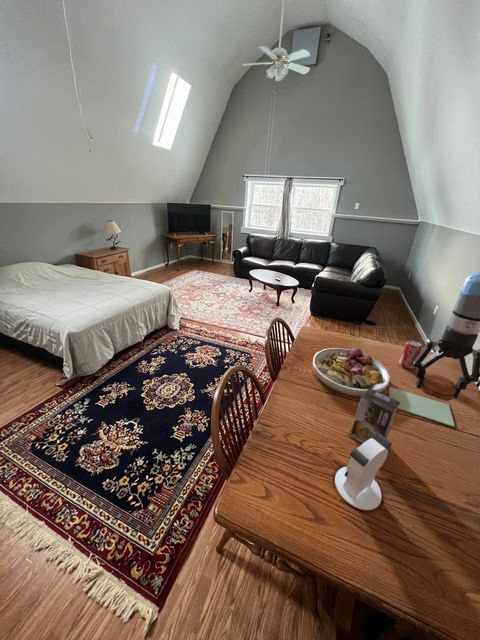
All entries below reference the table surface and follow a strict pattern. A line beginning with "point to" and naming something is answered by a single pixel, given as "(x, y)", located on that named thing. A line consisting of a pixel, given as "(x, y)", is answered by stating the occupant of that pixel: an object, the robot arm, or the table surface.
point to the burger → (438, 386)
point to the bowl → (350, 371)
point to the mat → (422, 406)
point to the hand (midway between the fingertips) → (435, 390)
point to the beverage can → (410, 354)
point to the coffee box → (374, 415)
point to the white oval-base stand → (363, 474)
